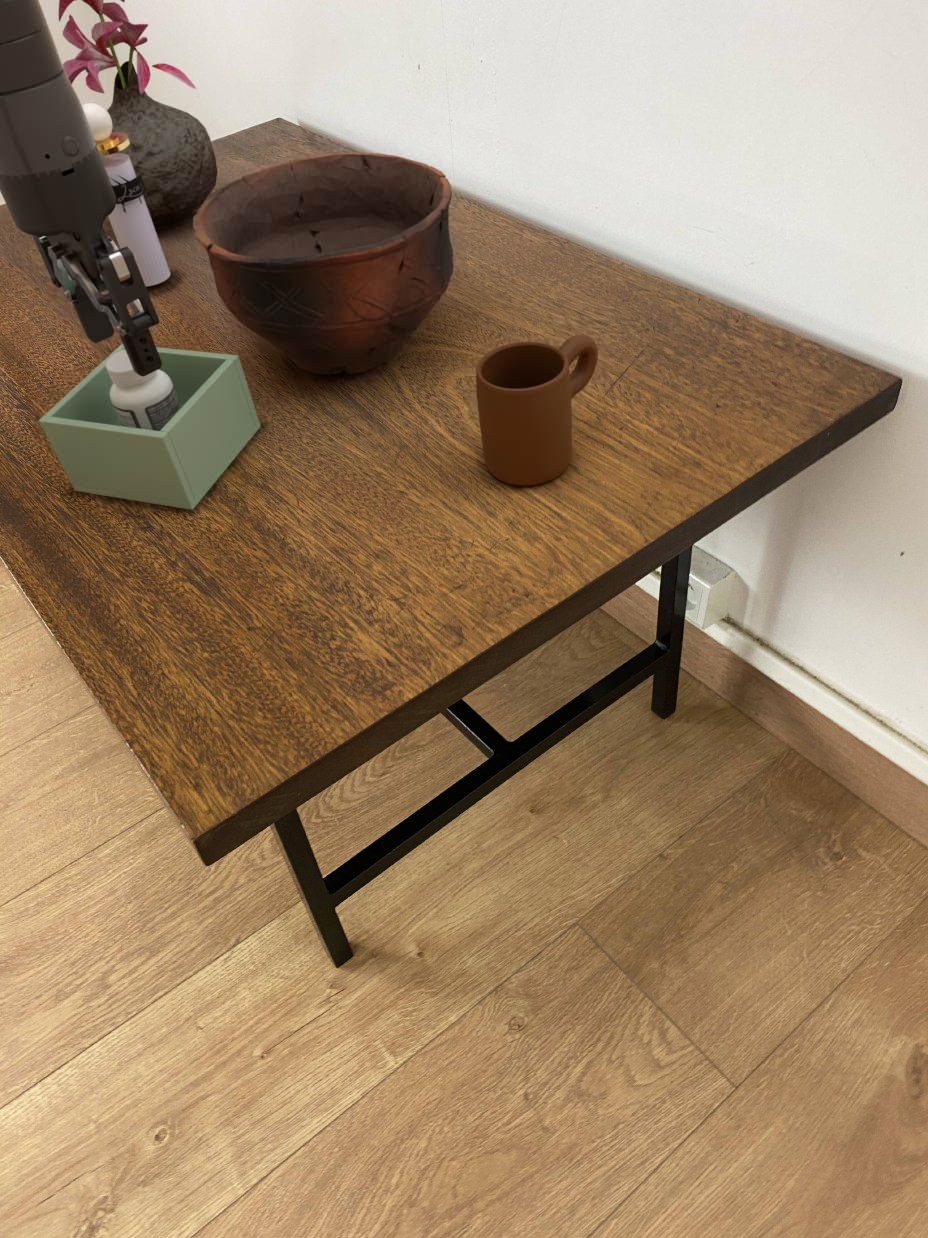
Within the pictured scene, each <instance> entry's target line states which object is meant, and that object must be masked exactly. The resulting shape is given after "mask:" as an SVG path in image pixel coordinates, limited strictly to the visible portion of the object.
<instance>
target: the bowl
mask: <svg viewBox="0 0 928 1238" xmlns="http://www.w3.org/2000/svg"><path fill="white" fill-rule="evenodd" d="M452 195H453V193H452V186H451V184H450V180H449V179H448V178H447V175H445V173H443V172H442V170H440V169H438V168H436V167H434V166H432V165H428V164H427V163H423V162H420V161H417V160H412V159H409V158H405V157H403V156H399V155H393V154H386V153H379V152H375V153H374V152H336V153H329V154H322V155H317V156H316V155H315V156H309V157H303V158H297V159H293V160H290V161H286V162H283V163H279V164H277V165H273V166H270V167H266V168H263V169H261V170H259V171H256V172H252V173H249V174H247V175H242V176H241V178H240V179H235V180H234V181H231V182H229V183H228V184H225V185H223V186H222V187H220V188H218V189H217V190H216V191H215V192H213V194H212V195H209V196H208V197H207V198H206V199H205V200H204V202H203V203H202V204H201V205H200V206H199V207H198V208H197V209H198V210H197V211H196V212H195V214H194V215H193V216H192V218H193V219H192V229H193V232H194V234H195V237H196V239H197V241H198V242H199V244H200V245H201V246H202V247H203V248H204V249H205V251H206V253H207V256H208V260H209V261H208V262H209V266H210V267H211V270H212V273H213V279H214V282H215V287H216V292H217V294H218V296H219V298H220V299H221V301H222V302H223V305H224V306H225V307H226V308H227V310H228V311H229V313H230V314H232V316H234V317H235V319H236V320H237V322H239V323H240V324H242V325H243V326H245V328H247V329H249V331H252V332H253V333H254V334H256V335H257V336H258V337H260V338H262V339H263V340H264V341H266V342H267V343H269V345H271V346H273V347H274V348H276V349H277V350H278V351H280V353H282V354H283V355H285V356H286V357H288V358H289V359H290V360H291V361H292V362H293V363H294V364H295V365H296V366H297V367H298V368H300V369H302V370H304V371H307V372H310V373H314V374H318V375H334V374H340V373H342V372H344V373H346V374H347V375H352V374H353V375H354V374H361V373H364V372H367V371H369V370H372V369H374V368H377V367H379V366H381V365H383V364H384V363H386V362H387V361H389V360H391V359H392V358H393V357H394V356H397V354H398V353H399V352H400V351H401V350H402V349H403V347H404V346H405V345H406V343H407V342H408V340H409V339H411V337H412V335H413V334H414V333H415V332H416V331H417V330H418V328H419V327H420V326H421V324H422V323H423V321H424V320H425V319H426V318H427V317H428V315H430V313H431V312H432V311H433V309H434V307H435V306H436V305H437V303H438V302H439V301H440V299H441V298H442V297H443V295H444V294H445V292H446V291H447V289H448V287H449V284H450V283H451V278H452V275H453V274H454V248H453V245H452V242H451V235H450V226H449V225H450V223H449V222H450V221H449V219H450V218H449V217H450V215H449V214H450V213H449V212H450V209H449V208H450V204H451V201H452V197H453V196H452Z"/></svg>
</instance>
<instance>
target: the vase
mask: <svg viewBox="0 0 928 1238" xmlns="http://www.w3.org/2000/svg"><path fill="white" fill-rule="evenodd" d="M75 1H77V0H58V22H59V23H60V22H61V20H62V18H63V15H64V14H65V12H66V10H67V8H68V7H69V6H70V5H71V4H72V3H74V2H75ZM81 1H82V2H83V3H85V4H86V5H88V7H90V8H91V9H92V10H93V11H94V12H95V13H96V14H97V15H98V17H99V20H100V21H99V22H96V23H94V25H93V27H92V28H91V39H92V40H93V41H94V42H92V41H91V40H89V38H88V37H87V36H86V35H85V34H84V32H82V30H81V29H80V28H79V25H78V24H77V22H76V21H75V19H74V16H73V15H71V14H69V15H68V21H67V22H66V24H65V26H64V27H63V30H62V36H63V38H64V39H65V40H66V41H67V42H68V43H69V44H71V45H72V46H73V47H76V48H77V49H80V51H79V53H77V55H76V56H75V58H72V59H69V60H65V62H63V63H62V64H63V68H64V69H65V72H66V74H67V76H68V79H69V81H70V83H71V85H72V86H73V83H74V81H75V80H76V78H77V77H78V76H79V75H80V74H81V73H82V72H84V71H85V72H86V73H87V75H86V77H85V85H86V86H87V87H88V88H89V90H91V91H93V92H96V93H99V94H105V90H104V89H103V86H102V83H101V81H100V78H99V73H100V72H102V71H105V70H107V69H111V68H116V69H117V72H116V75H115V77H114V83H113V94H112V102H111V104H110V106H109V107H108V108H107V109H106V110H107V111H108V113H109V115H110V117H111V119H112V124H113V127H112V132H120V133H125V134H127V135H128V137H129V140H130V144H129V145H128V146H127V147H126V148H125V149H123V150H121V151H119V152H116V153H123V154H127V155H129V157H130V160H131V163H132V165H133V168H134V171H135V174H136V177H137V176H138V175H139V174H140V173H141V176H142V179H143V182H144V185H145V187H146V194H147V195H145V193H144V194H143V196H144V199H145V202H146V205H147V208H148V211H149V213H150V216H151V219H152V222H153V225H154V228H155V230H163V229H170V228H174V227H175V228H176V227H178V226H180V225H183V224H185V223H187V222H188V221H190V220H191V219H192V218H193V217H194V211H195V210H197V209H199V208H200V207H201V205H202V204H203V203H204V202H205V201H206V200H207V199H208V197H209V196H210V194H211V193H212V192H213V190H214V189H215V187H216V186H217V185H216V184H217V178H218V166H217V159H216V155H215V150H214V147H213V143H212V140H211V136H210V135H209V133H208V130H207V128H206V126H204V124H203V123H202V122H201V121H200V120H199V119H198V118H196V117H195V116H193V115H192V114H190V113H188V112H187V111H184V110H181V109H179V108H176V107H173V106H170V105H167V104H165V103H161V102H160V101H157V100H154V99H153V98H152V97H150V96H149V95H148V93H147V92H146V88H147V87H148V84H149V83H150V80H151V70H150V69H151V68H154V69H157V70H160V71H162V72H165V73H166V74H168V75H171V76H172V77H174V78H176V79H177V80H179V81H181V82H182V83H183V84H185V85H186V86H188V87H189V88H192V89H194V90H197V87H196V86H195V84H194V83H193V82H192V80H190V79H189V77H188V76H187V75H186V74H185V73H184V72H183V71H182V70H181V69H179V68H177V67H175V66H174V65H171V64H169V63H163V62H162V63H161V62H160V63H155V64H152V65H151V68H150V66H149V64H148V62H147V60H146V59H145V57H144V56H143V55H142V54H141V52H140V51H139V50H138V49H137V47H139V46H141V45H143V44H146V43H147V42H148V37H147V36H142V35H143V33H144V32H145V30H146V29H147V28H148V27H149V24H148V23H137V24H136V23H132V22H130V20H129V17H128V16H127V14H126V11H125V10H124V9H123V7H122V6H121V5H120V4H119V3H117V2H114V1H113V2H104V0H81ZM120 2H122V3H125V2H126V0H120ZM104 16H105V17H107V18H108V19H109V20H110V21H106V20H105V18H104ZM118 29H119V30H120V31H119V30H118ZM123 43H124V44H126V45H127V46H128V47H129V55H128V60H127V61H125V62H123V63H122V64H121V65H120V62H119V59H118V56H117V54H116V50H115V46H117V45H119V44H123ZM108 49H110V51H109V50H108ZM134 52H136V68H135V66H134V64H133V59H134ZM116 153H114V154H116ZM139 185H140V184H139ZM140 187H141V188H142V185H141V186H140ZM143 189H144V187H143ZM142 192H143V191H142ZM147 197H148V198H147Z"/></svg>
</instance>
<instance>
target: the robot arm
mask: <svg viewBox="0 0 928 1238" xmlns="http://www.w3.org/2000/svg"><path fill="white" fill-rule="evenodd" d="M63 64H64V63H63V62H62V59H61V57H60V54H59V51H58V49H57V46H56V43H55V40H54V38H53V35H52V32H51V29H50V27H49V24H48V21H47V19H46V16H45V13H44V10H43V9H42V5H41V3H40V0H0V195H1V196H2V198H3V200H4V203H5V205H6V207H7V209H8V211H9V213H10V216H11V218H12V220H13V222H14V224H15V226H16V227H17V229H19V230H20V231H21V232H22V233H24V234H27V235H30V236H32V238H33V239H34V241H35V242H34V243H35V245H36V247H37V249H38V251H39V254H40V256H41V259H42V260H43V263H44V265H45V268H46V270H47V272H48V274H49V277H50V281H51V283H52V284H53V285H54V286H55V287H56V289H60V288H62V293H63V296H64V297H65V298H66V299H67V300H68V302H71V303H72V306H73V308H74V310H75V313H76V315H77V317H78V320H79V321H80V324H81V326H82V328H83V331H84V333H85V335H86V338H87V339H88V340H89V341H91V342H92V343H94V344H98V343H101V342H102V341H104V340H107V339H110V338H111V337H113V336H114V334H115V331H116V332H117V333H118V336H119V338H120V341H121V344H123V345H124V348H125V350H126V353H127V355H128V357H129V360H130V362H131V365H132V367H133V370H134V371H135V372H136V373H137V374H138V375H140V376H146V375H148V374H150V373H152V372H154V371H156V370H158V369H160V368H161V366H162V361H161V359H160V356H159V354H158V351H157V348H156V347H157V346H156V343H155V340H154V338H153V336H152V333H151V330H150V328H152V327H155V326H157V325H159V324H160V319H159V316H158V313H157V312H156V309H155V306H154V304H153V301H152V298H151V297H150V294H149V291H148V288H147V286H145V283H144V281H143V278H142V276H141V273H140V271H139V268H138V266H137V263H136V261H135V258H134V255H133V253H132V251H131V250H130V249H129V248H128V247H124V248H121V249H120V248H118V246H117V245H116V243H115V241H114V240H113V238H111V237H110V236H108V234H107V232H106V231H105V230H104V227H103V226H104V225H103V224H104V222H105V220H106V218H108V215H110V214H111V213H112V212H113V210H114V209H115V206H116V196H115V194H114V191H113V188H112V185H111V183H110V180H109V177H108V175H107V172H106V169H105V167H104V164H103V161H102V158H101V156H100V153H99V150H98V148H97V145H96V142H95V140H94V137H93V134H92V132H91V129H90V126H89V123H88V121H87V118H86V115H85V113H84V110H83V108H82V105H83V104H82V103H81V100H80V98H79V97H78V94H77V93H76V91H75V89H74V87H73V84H72V85H71V83H70V81H69V79H68V76H67V74H66V72H65V69H64V68H63ZM104 292H108V293H105V294H104ZM128 305H129V306H130V308H131V310H132V311H133V313H131V314H130V311H129V308H128Z"/></svg>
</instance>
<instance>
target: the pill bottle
mask: <svg viewBox="0 0 928 1238" xmlns="http://www.w3.org/2000/svg"><path fill="white" fill-rule="evenodd" d="M106 369H107V372H108V374H109V376H110V379H111V381H112V382H113V383H114V384H113V385H112V387H111V389H110V399H111V401H112V404H113V406H114V408H115V410H116V412H117V415H118V417H119V419H120V421H121V423H122V425H123V426H124V427H131V428H139V429H146V430H154V431H160V430H161V429H162V428H163V427H164V426H165V425H166V424H167V423H168V422H169V421H170V420H171V418H172V417H173V416H174V415H175V414H176V413H177V412H178V411H179V410H180V409H181V408H182V407H181V404H180V402H179V399H178V396H177V394H176V391H175V388H174V386H173V383H172V381H171V379H170V378H169V376H168V375H167V374H166V373H165V372H163V371H161V370H156V371H154V372H152V373H150V374H148V375H146V376H140V375H138V374H137V373H136V372H135V371H134V370H133V367H132V365H131V362H130V360H129V357H128V355H127V353H126V350H122V351H119V352H117V353H116V354H114V355H112V356H111V357H110V358H109V359H108V360H107V362H106Z"/></svg>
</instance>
